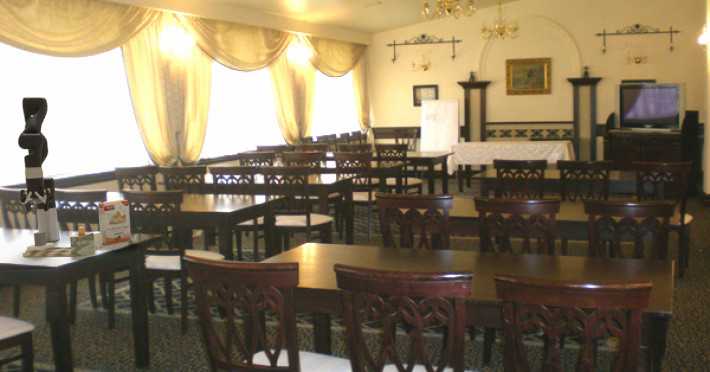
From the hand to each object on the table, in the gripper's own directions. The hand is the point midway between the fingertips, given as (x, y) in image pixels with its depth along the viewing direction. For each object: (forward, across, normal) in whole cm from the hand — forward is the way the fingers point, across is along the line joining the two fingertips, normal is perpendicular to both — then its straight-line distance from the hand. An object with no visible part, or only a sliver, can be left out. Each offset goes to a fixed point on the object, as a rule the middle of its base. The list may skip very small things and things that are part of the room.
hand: (37, 211), depth 301 cm
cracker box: (+21, -24, -26) cm, 41 cm away
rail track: (+20, -9, 0) cm, 22 cm away
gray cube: (+18, 0, 0) cm, 18 cm away
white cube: (+21, -18, -16) cm, 32 cm away
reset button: (+13, -21, 0) cm, 25 cm away
